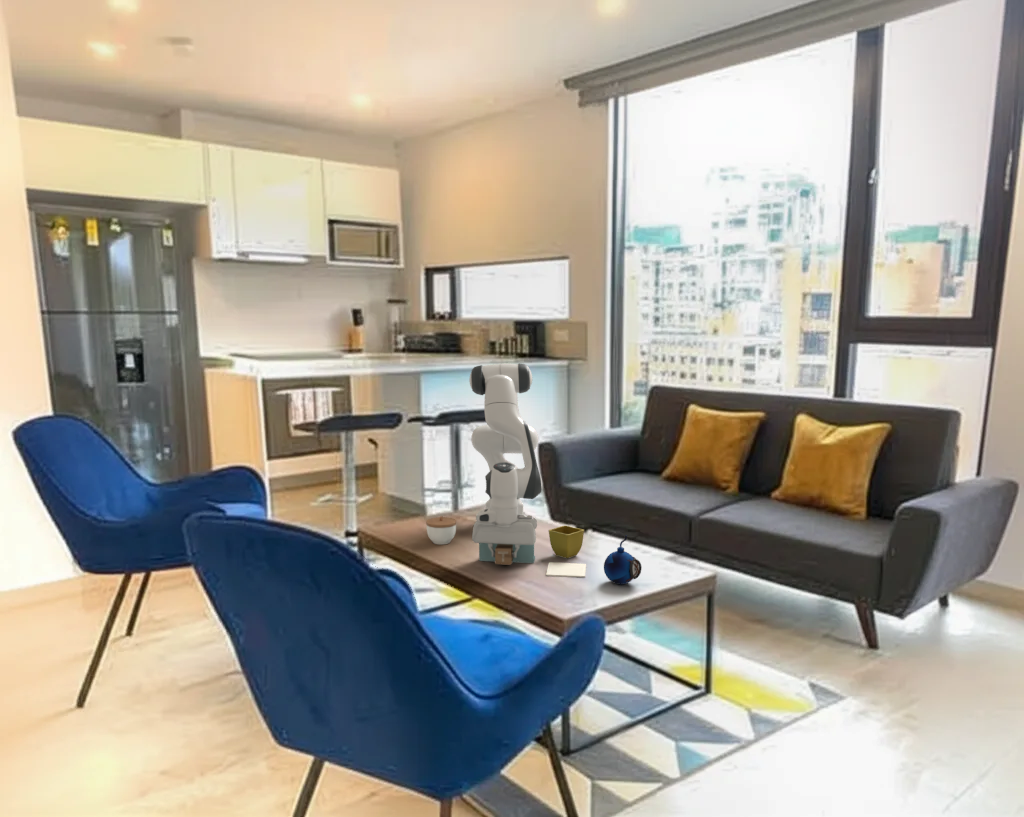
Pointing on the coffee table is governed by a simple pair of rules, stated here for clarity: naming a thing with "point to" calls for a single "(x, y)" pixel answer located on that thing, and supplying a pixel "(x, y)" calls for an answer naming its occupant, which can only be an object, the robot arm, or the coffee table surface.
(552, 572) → the pad
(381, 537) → the coffee table surface
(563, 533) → the flower pot
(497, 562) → the brown block
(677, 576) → the coffee table surface
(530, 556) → the screen
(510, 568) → the coffee table surface
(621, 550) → the bomb
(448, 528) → the lidded jar
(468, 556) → the coffee table surface
